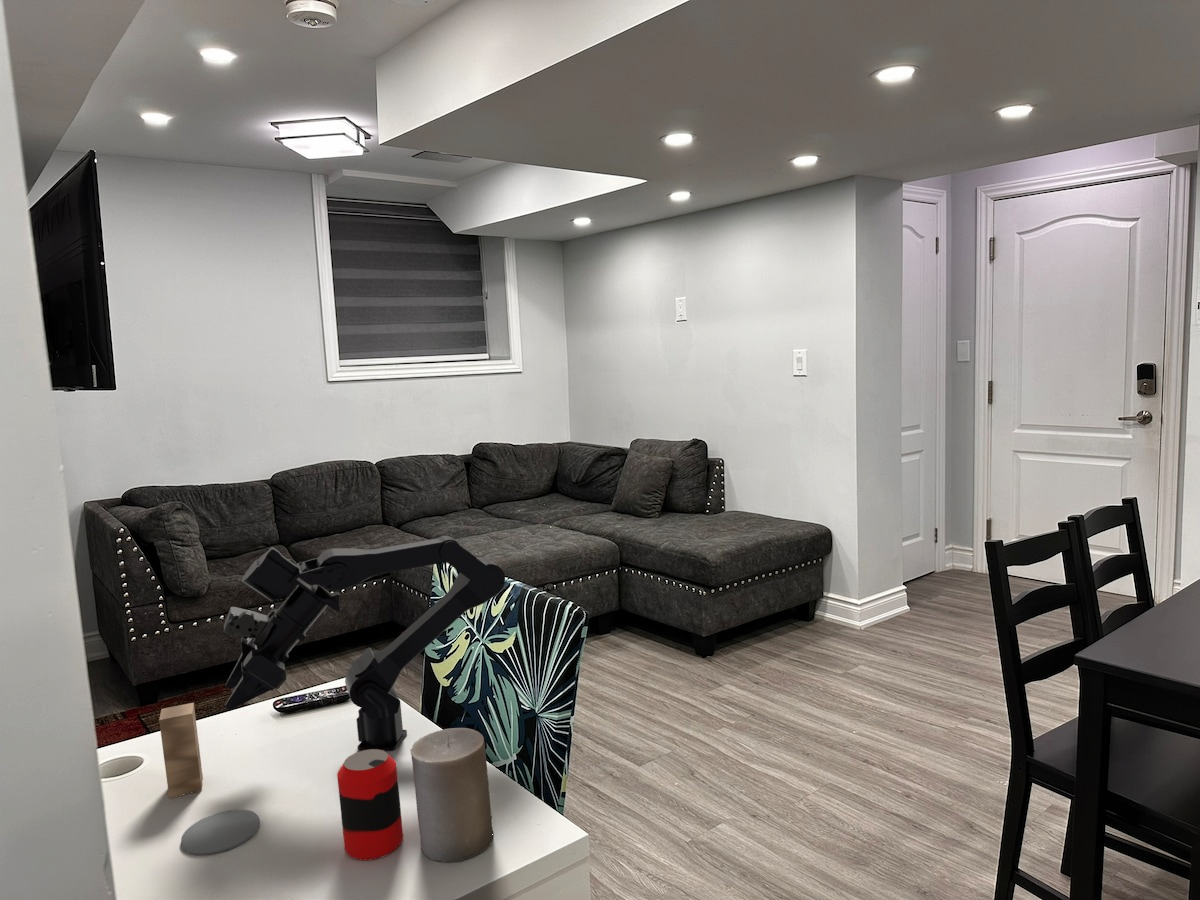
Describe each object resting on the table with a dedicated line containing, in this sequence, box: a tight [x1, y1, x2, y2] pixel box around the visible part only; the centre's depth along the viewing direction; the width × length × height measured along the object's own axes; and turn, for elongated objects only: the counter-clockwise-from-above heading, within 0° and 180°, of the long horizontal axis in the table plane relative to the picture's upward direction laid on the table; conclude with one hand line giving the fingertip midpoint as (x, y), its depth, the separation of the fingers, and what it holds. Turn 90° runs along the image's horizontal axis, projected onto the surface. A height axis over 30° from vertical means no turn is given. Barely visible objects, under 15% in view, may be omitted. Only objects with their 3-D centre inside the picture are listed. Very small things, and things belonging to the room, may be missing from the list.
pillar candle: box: [410, 727, 495, 863], centre depth 111 cm, size 10×10×15 cm
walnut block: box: [158, 702, 204, 799], centre depth 130 cm, size 4×4×12 cm
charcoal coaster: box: [180, 809, 261, 856], centre depth 117 cm, size 10×10×1 cm
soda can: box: [336, 749, 404, 861], centre depth 112 cm, size 8×8×12 cm
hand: (227, 697), depth 132 cm, fingers open, 9 cm apart
